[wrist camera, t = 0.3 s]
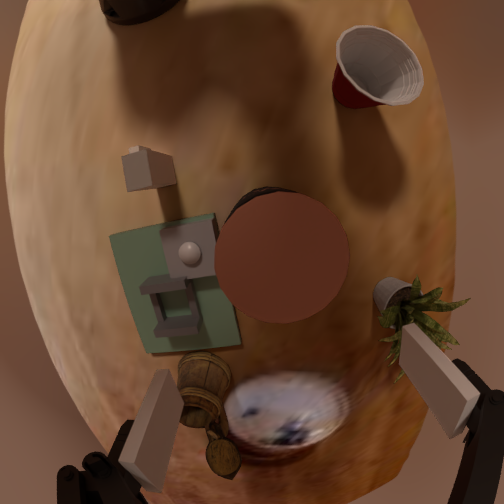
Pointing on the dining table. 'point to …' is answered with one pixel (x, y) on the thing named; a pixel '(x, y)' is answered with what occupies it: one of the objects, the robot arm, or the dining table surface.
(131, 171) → the plug
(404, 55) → the plastic cup
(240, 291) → the coffee jar
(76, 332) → the dining table surface
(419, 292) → the house plant
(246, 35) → the dining table surface
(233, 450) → the wooden mug
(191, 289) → the board
